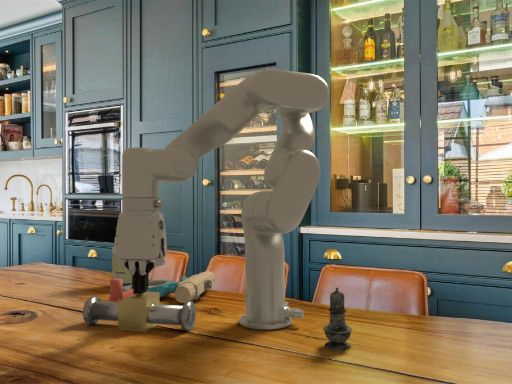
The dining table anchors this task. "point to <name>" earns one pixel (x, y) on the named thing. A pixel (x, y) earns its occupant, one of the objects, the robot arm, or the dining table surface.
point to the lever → (119, 290)
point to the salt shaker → (337, 324)
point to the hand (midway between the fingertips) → (140, 292)
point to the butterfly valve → (182, 286)
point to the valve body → (140, 312)
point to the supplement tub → (121, 270)
